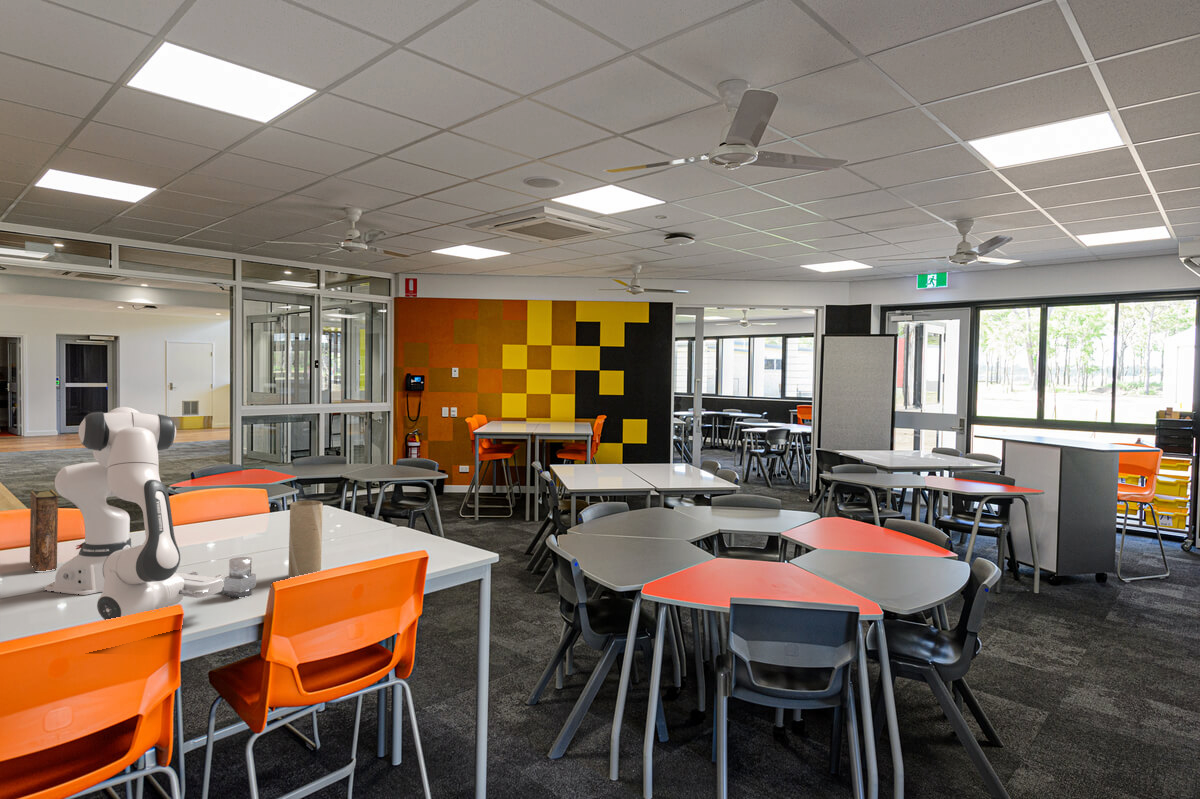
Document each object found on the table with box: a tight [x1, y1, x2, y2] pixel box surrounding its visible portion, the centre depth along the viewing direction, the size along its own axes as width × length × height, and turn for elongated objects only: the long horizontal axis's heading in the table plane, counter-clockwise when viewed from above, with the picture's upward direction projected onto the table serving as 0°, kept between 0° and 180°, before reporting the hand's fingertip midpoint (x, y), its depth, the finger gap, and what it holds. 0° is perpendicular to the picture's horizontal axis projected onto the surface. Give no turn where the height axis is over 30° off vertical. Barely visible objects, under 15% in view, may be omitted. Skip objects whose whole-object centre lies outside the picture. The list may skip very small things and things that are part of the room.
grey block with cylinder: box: [223, 556, 257, 593], centre depth 195 cm, size 6×6×9 cm
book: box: [29, 489, 59, 572], centre depth 216 cm, size 16×6×25 cm, turn 47°
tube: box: [287, 499, 324, 579], centre depth 215 cm, size 10×10×25 cm
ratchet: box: [218, 586, 253, 599], centre depth 197 cm, size 19×6×5 cm, turn 76°
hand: (209, 576), depth 184 cm, fingers open, 8 cm apart
